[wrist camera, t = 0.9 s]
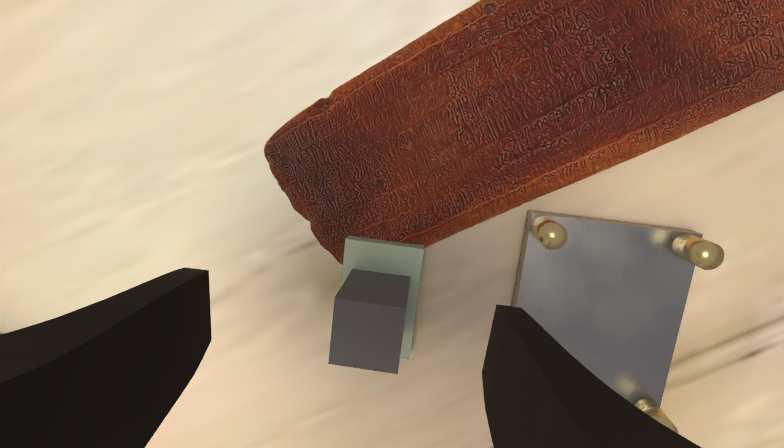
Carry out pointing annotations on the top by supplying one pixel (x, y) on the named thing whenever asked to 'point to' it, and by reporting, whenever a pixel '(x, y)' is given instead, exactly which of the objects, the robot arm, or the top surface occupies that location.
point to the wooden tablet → (518, 109)
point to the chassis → (612, 295)
